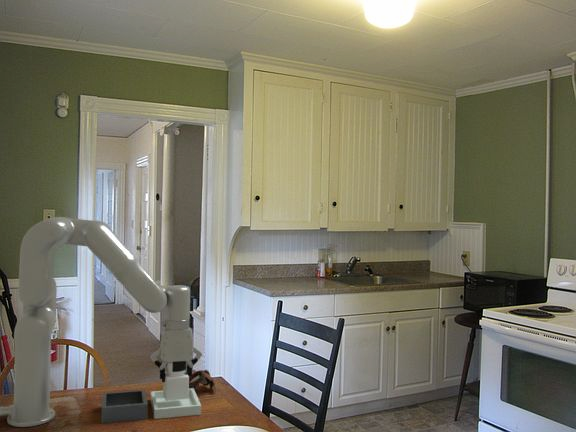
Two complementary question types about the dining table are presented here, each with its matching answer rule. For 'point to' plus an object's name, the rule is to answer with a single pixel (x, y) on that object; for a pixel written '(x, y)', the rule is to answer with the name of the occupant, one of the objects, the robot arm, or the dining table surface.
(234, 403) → the dining table surface
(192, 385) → the broken pottery ring
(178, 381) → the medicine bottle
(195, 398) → the tray
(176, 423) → the dining table surface
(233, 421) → the dining table surface
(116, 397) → the holder
